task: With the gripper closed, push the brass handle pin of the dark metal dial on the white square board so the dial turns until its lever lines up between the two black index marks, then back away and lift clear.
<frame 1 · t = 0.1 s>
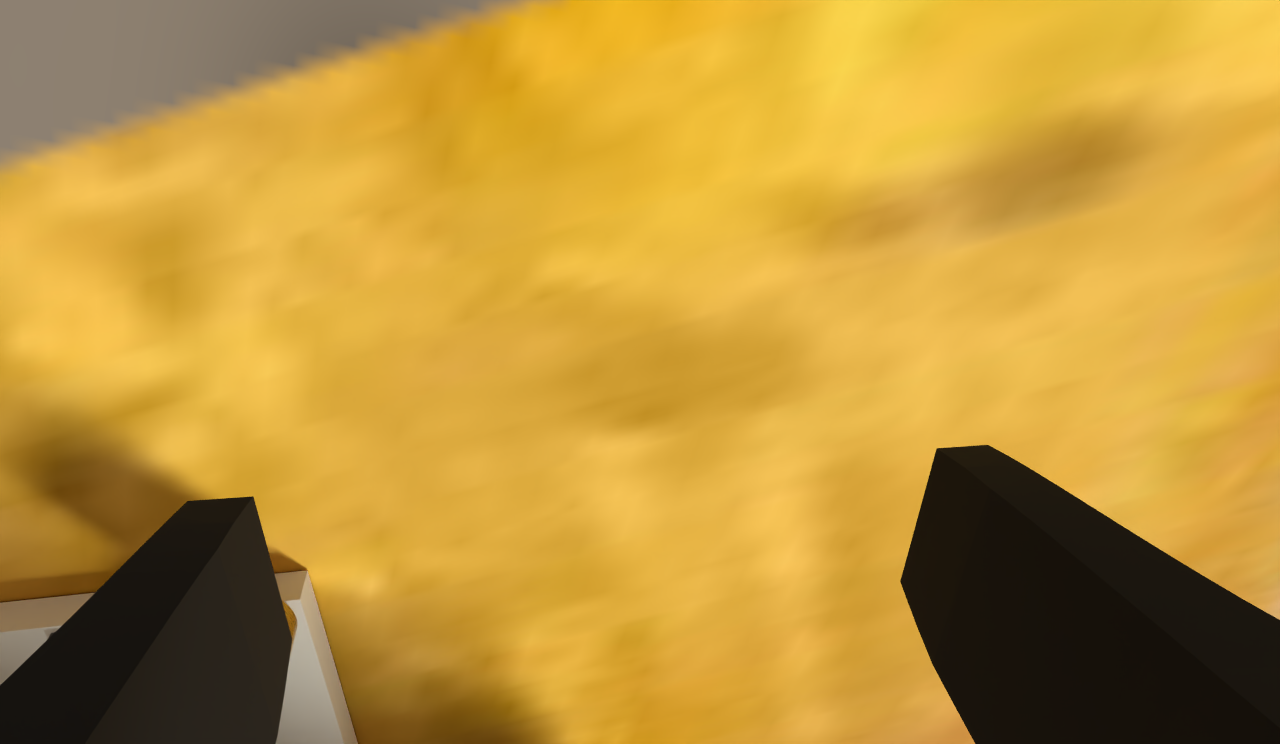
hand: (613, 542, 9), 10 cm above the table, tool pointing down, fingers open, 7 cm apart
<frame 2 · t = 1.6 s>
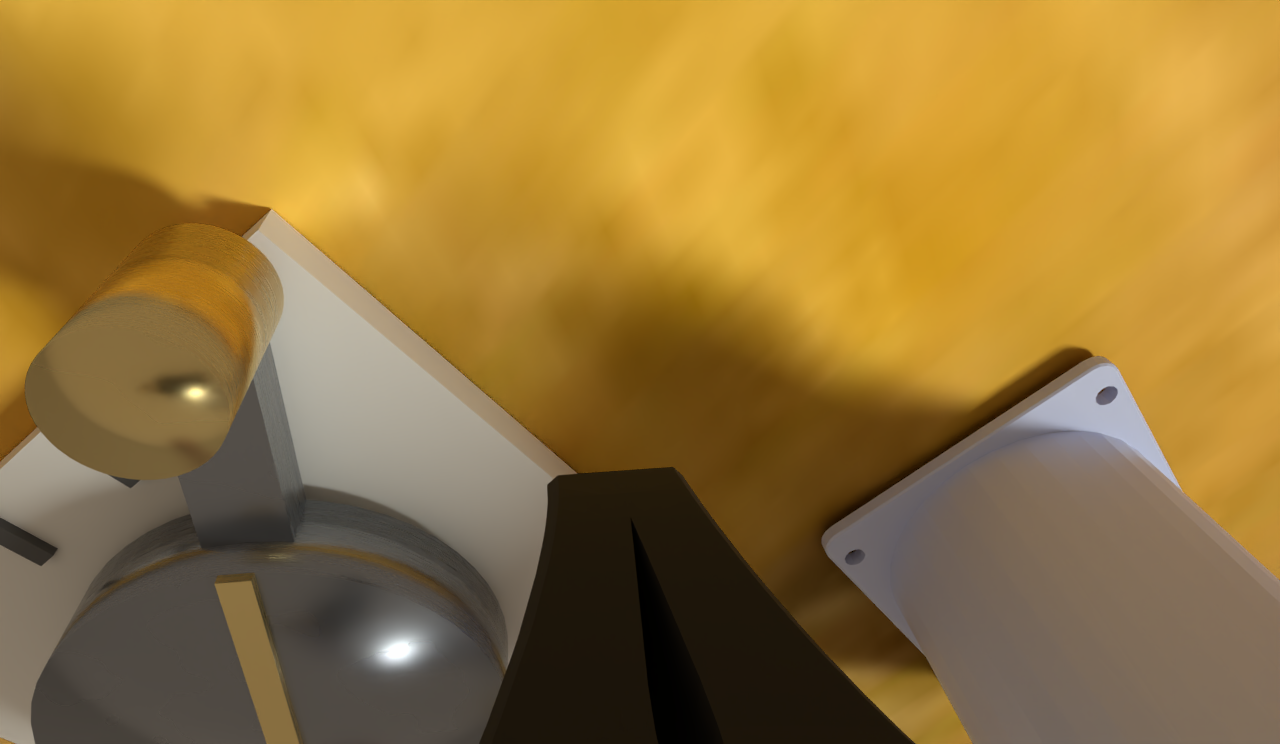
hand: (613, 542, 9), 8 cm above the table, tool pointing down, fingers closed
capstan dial: (258, 628, 16), point 3 cm above the table, hinge at -40.0°
white square board: (315, 604, 20), on the table
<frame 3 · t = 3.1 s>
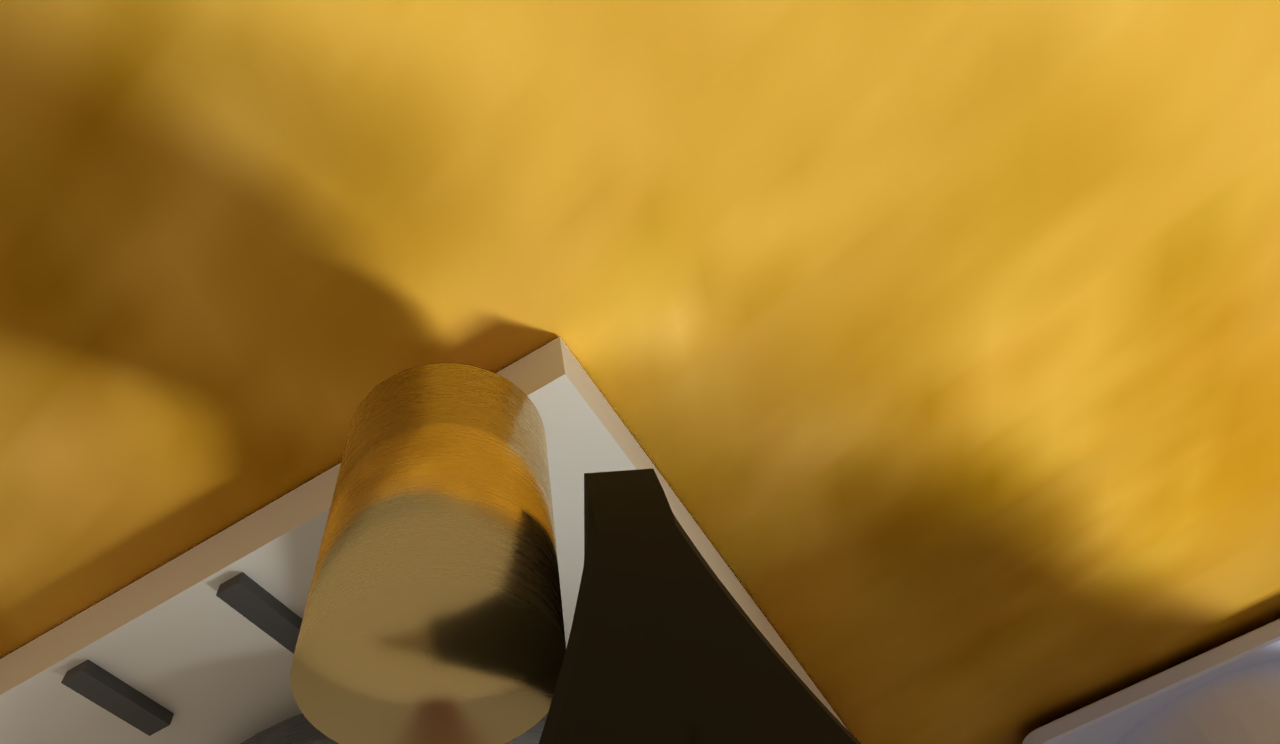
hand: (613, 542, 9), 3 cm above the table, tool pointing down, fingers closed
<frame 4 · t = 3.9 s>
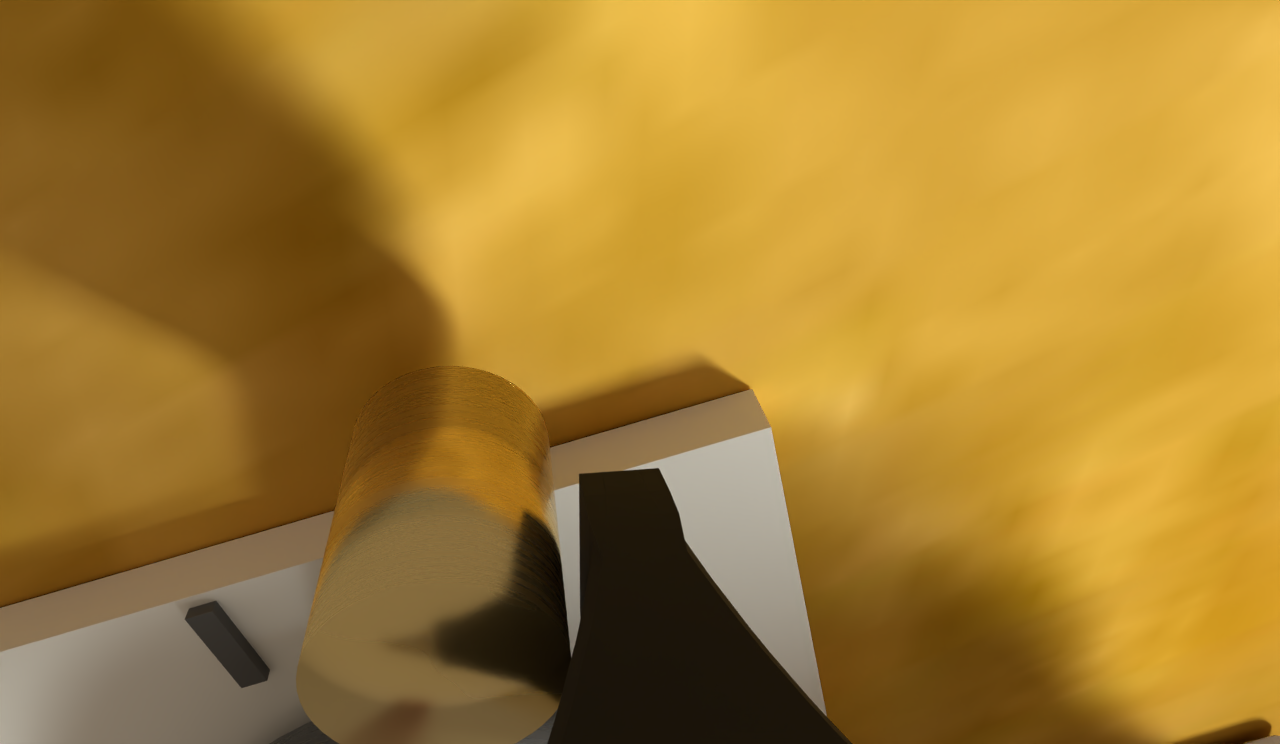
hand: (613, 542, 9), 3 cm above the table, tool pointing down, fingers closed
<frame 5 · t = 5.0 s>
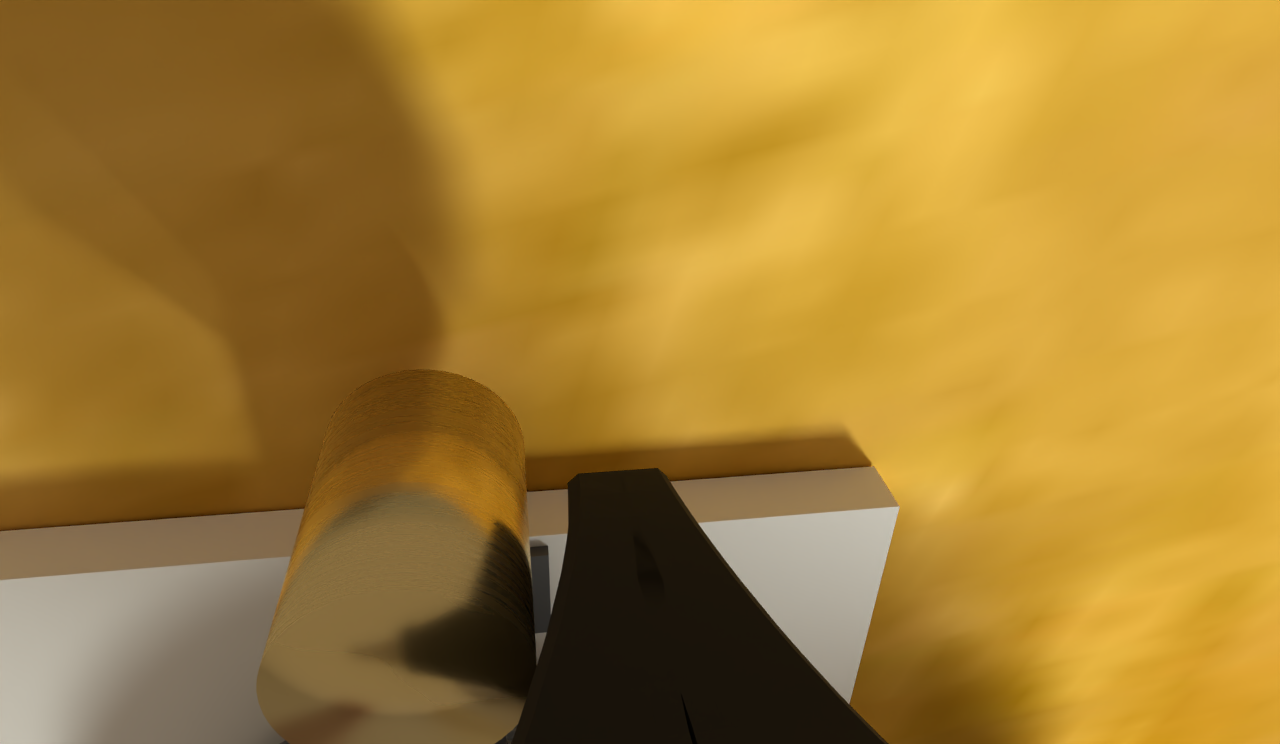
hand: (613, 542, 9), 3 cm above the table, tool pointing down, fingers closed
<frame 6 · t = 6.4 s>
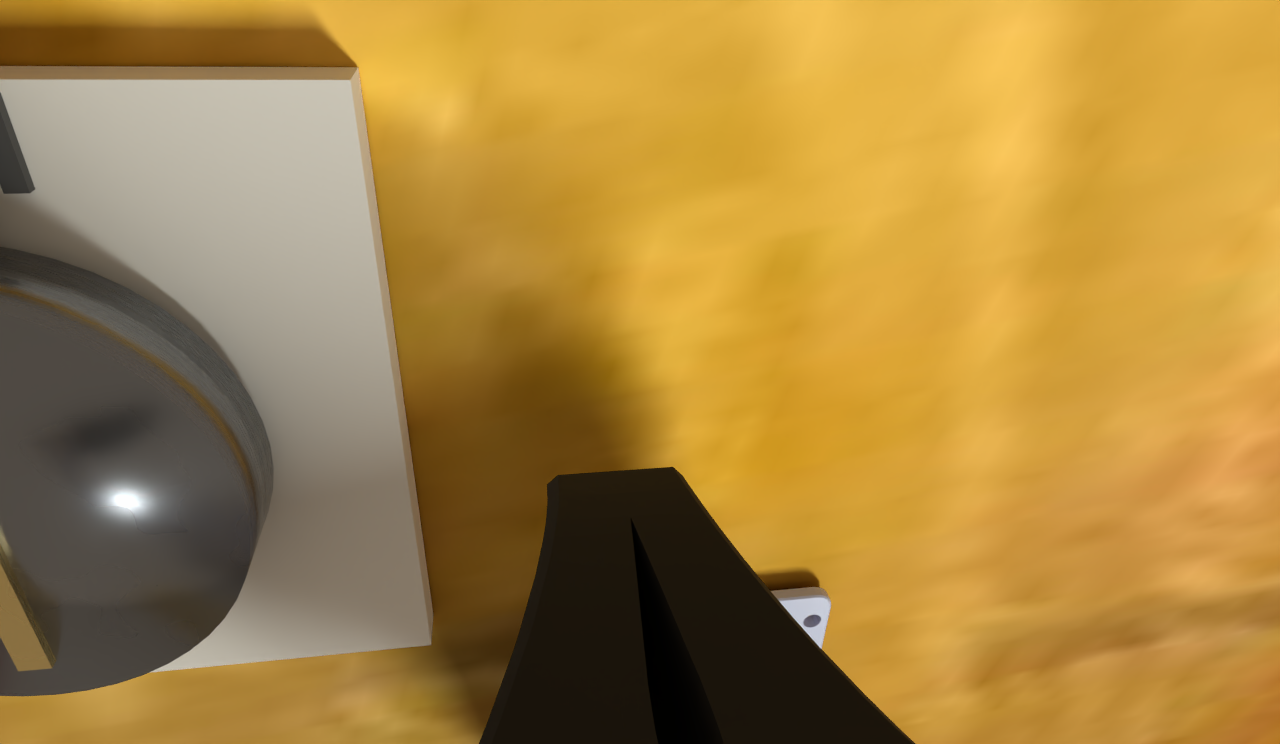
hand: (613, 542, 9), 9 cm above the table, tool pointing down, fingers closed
white square board: (59, 413, 17), on the table
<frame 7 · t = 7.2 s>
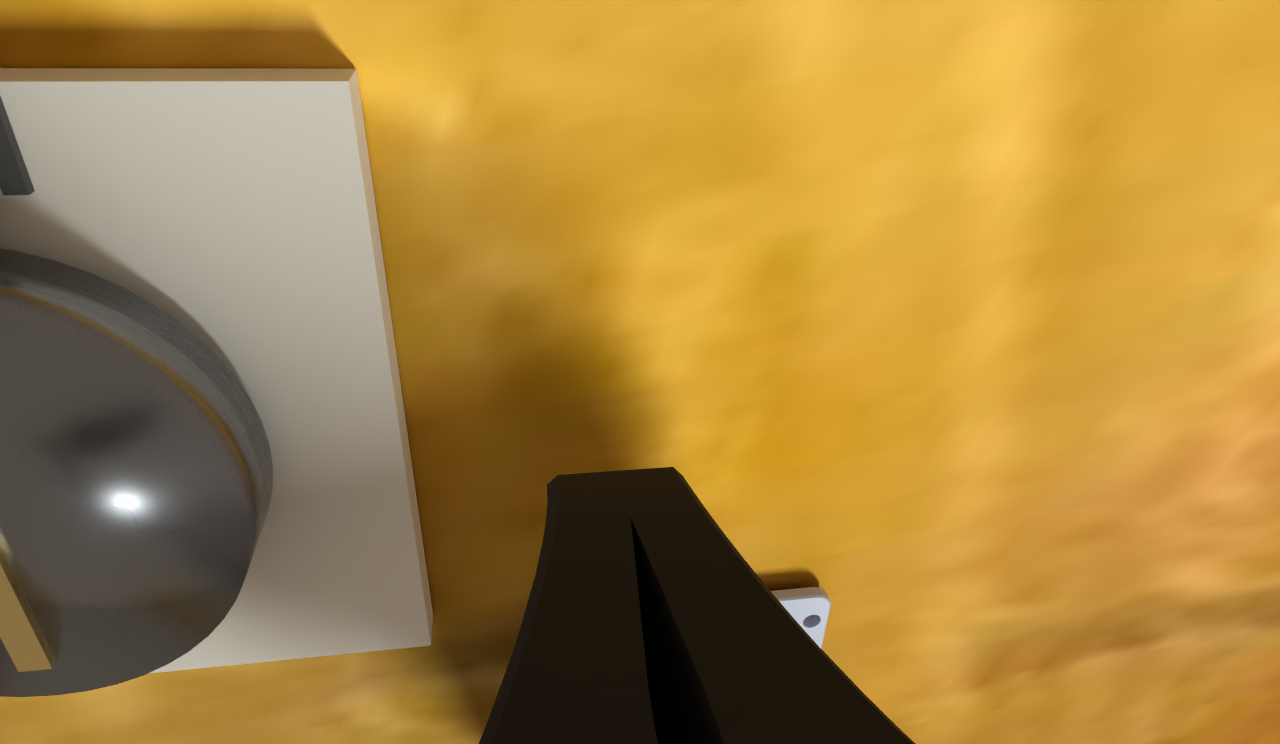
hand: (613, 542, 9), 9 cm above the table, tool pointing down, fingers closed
white square board: (59, 415, 17), on the table
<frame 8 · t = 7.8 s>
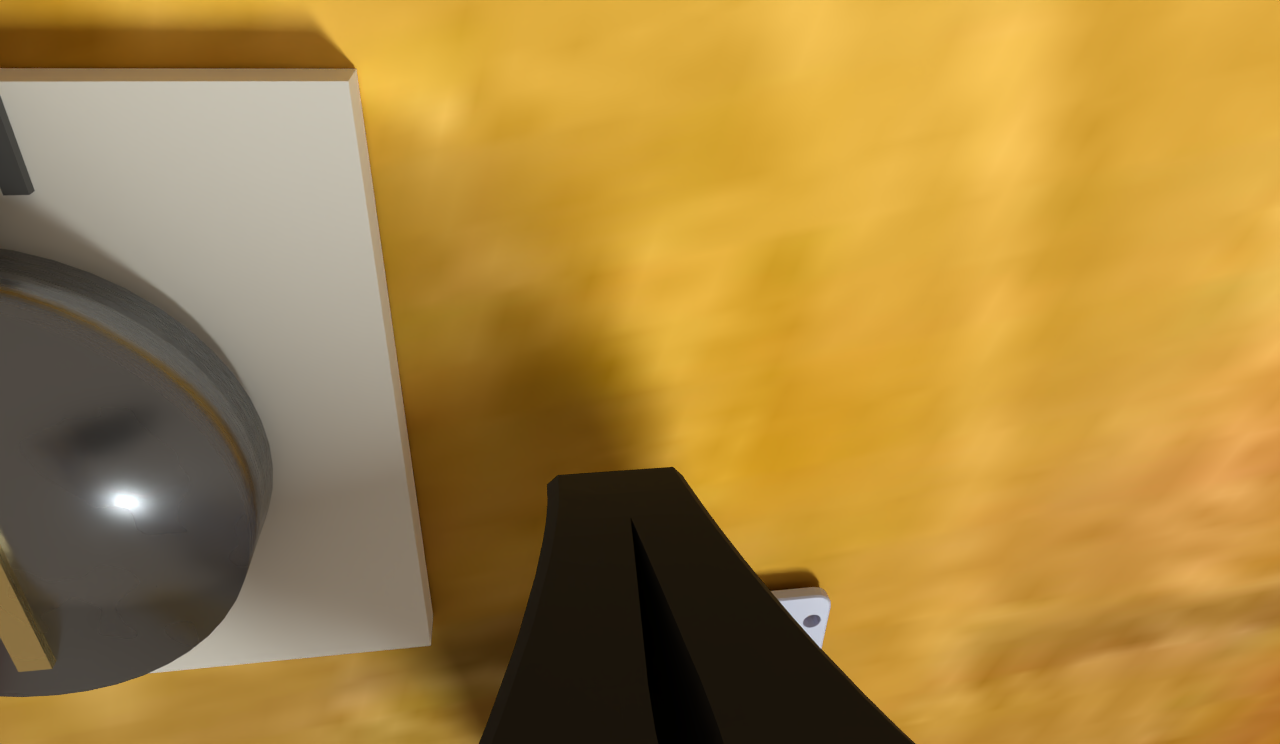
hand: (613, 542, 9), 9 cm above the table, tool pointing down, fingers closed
white square board: (59, 415, 17), on the table
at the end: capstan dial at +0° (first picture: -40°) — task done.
